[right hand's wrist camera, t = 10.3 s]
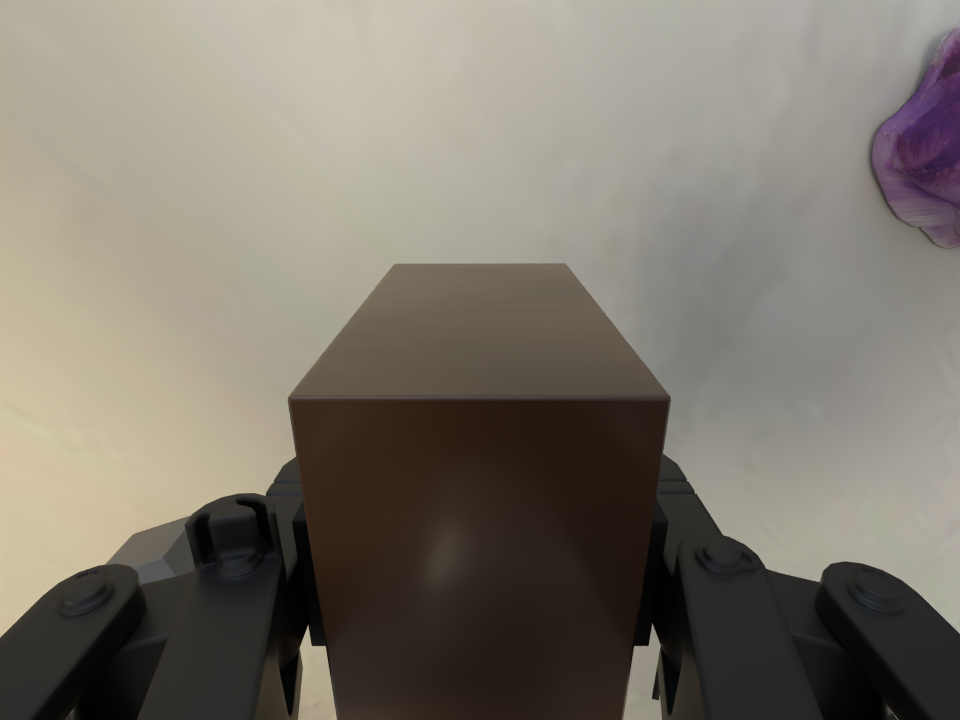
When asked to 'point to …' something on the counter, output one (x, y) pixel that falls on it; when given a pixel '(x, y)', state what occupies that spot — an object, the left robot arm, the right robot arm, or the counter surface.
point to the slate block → (157, 552)
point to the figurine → (926, 149)
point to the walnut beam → (479, 496)
